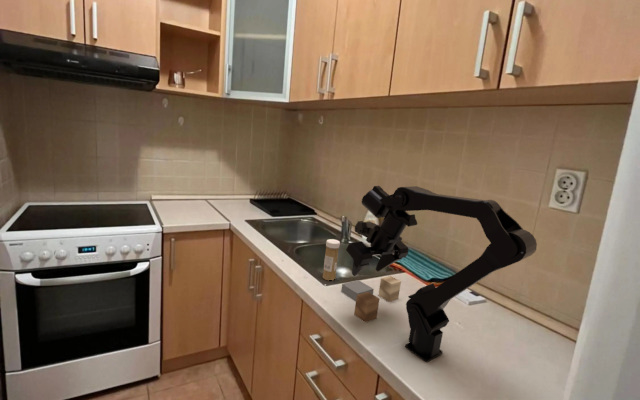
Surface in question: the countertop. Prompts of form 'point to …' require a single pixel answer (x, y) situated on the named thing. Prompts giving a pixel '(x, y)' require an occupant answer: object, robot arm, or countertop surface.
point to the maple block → (389, 288)
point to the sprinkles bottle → (331, 259)
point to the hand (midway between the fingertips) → (365, 272)
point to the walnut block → (366, 306)
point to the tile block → (355, 289)
